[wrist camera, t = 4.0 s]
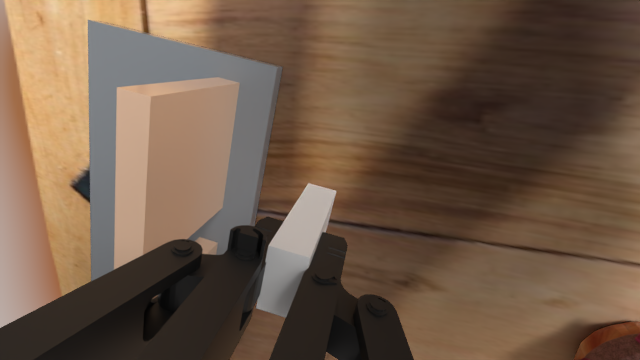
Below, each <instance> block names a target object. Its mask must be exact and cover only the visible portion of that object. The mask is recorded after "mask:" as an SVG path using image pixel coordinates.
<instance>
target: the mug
mask: <svg viewBox="0 0 640 360" xmlns="http://www.w3.org/2000/svg"><path fill="white" fill-rule="evenodd" d="M574 360H640V322H626V323H621V324H615V325H610V326H607V327H604V328H601V329H599V330H596V331H594V332H593V333H592V334H590V335H589V336H588V337H587V338H585V339H584V340H583V341H582V342H581V343H580V347H579V349H578V350H577V352H576V355H575V358H574Z"/></svg>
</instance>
